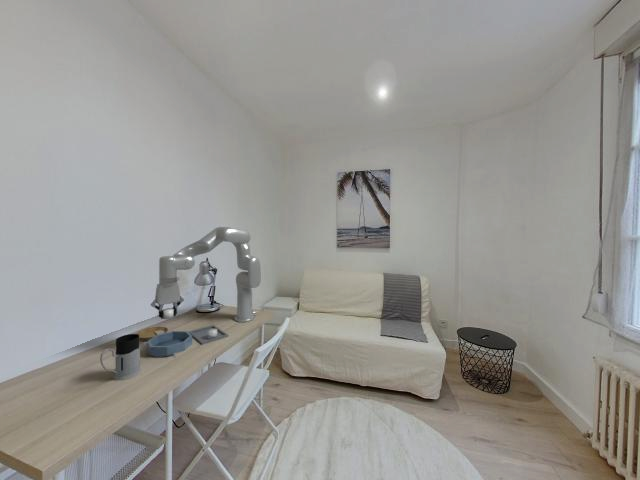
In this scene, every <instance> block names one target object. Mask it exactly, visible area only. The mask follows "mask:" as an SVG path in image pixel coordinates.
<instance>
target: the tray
mask: <svg viewBox="0 0 640 480" xmlns="http://www.w3.org/2000/svg"><path fill="white" fill-rule="evenodd" d="M209 329H217V337H216V338H213V339H210V340H208V339H207V330H209ZM188 332H189V333H190V334H191V335H192V338H194V339H195V340H196V341H197V342H198V343H199V344H201V345H206V344H208V343H212V342H215V341H219V340H222V339H225V338H229V334H228V333H227V332H225V331H224V330H222V329H221V328H219V327H218V326H216V325H215V324H212V325H209V326H206V327H205V326H204V327H201V328H198V329H197V328H196V329H194V330H189V331H188Z"/></svg>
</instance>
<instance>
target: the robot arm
mask: <svg viewBox="0 0 640 480" xmlns="http://www.w3.org/2000/svg"><path fill="white" fill-rule="evenodd" d="M250 240H251V234H250V232H249V231H247V230H244V229H240V228H234V227H229V226H218V227H215V228H214V229H213V230H211V231H209V233H207V234H205V236H203V237H201V239H199V240H197V241H195V242H192V243H190V244H188V245H186V246H184V247H182V248H181V249H179V250H178V251H177V252H176V253H174V254H173V255H165V256H160V257H159V260H158V267H159V269H158V270H159V271H158V274H159V275H158V281H159V282H158V284H156V289H155V295H154V297H155V298H154V300H153V301H152V302H151V303H150V306H151V307H153V308H155V309H156V310H158V318H160V319H161V320H164V319H163V309H164V308H163V307H164V305H168V304H169V305H170V304H172V305H173V306H172V308H173V309H174V317H176V316H177V314H178V308H179V306H180V305H181V304H182V303H183V302H184V301H185V299H184V298H183V297H182V296H181V293H180V292H181V291H180V285H179V281H180V280H181V278H180V277H178V271H181V270H182V271H187V270H191V269H192V268H193V267H194V266H195V264H196V261H195V259H194V258H195V257H196V256H199V255H204V254H207V253H211V251H213V250H214V249H215V248H216V247H217V246H219V245H220V244H221V243H225V242H226V243H231V244H232V245H234V247H235V251H236V260H237V261H236V264H237V267H238V269H239V270H242V271H239V272H238V273H237V274H236V276H235V284H236V291H237V294H236V297H237V298H236V299H237V300H236V302H237V303H236V306H237V307H236V316H235V317H234V321H235V322H237V323H238V322H239V323H245V322H251V321H252V320H254V319H255V315H257V314H259V310H253V289H256V288H258V287H259V286H260V284H261V282H262V271H261V269H262V268H261V262H260V259H259V258H258V257H256V256H253V255H251V248H250V245H249V242H250Z"/></svg>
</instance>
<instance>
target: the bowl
mask: <svg viewBox="0 0 640 480" xmlns="http://www.w3.org/2000/svg"><path fill="white" fill-rule="evenodd" d="M191 345H193V336H192V335H191V334H190V333H189V331H186V330H183V331H182V330H181V331H180V330H172V331H167V332H166V333H165V332H163V333H161V334H157V335H156V336H155V337H153V338H152V339H150V340H146V350H147V352H148V355H149V356H151V357H153V358H167V357H172V356H175V354H177V353H180V352H184V351H186V350H187V349H188V348H189V347H190V346H191Z"/></svg>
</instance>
